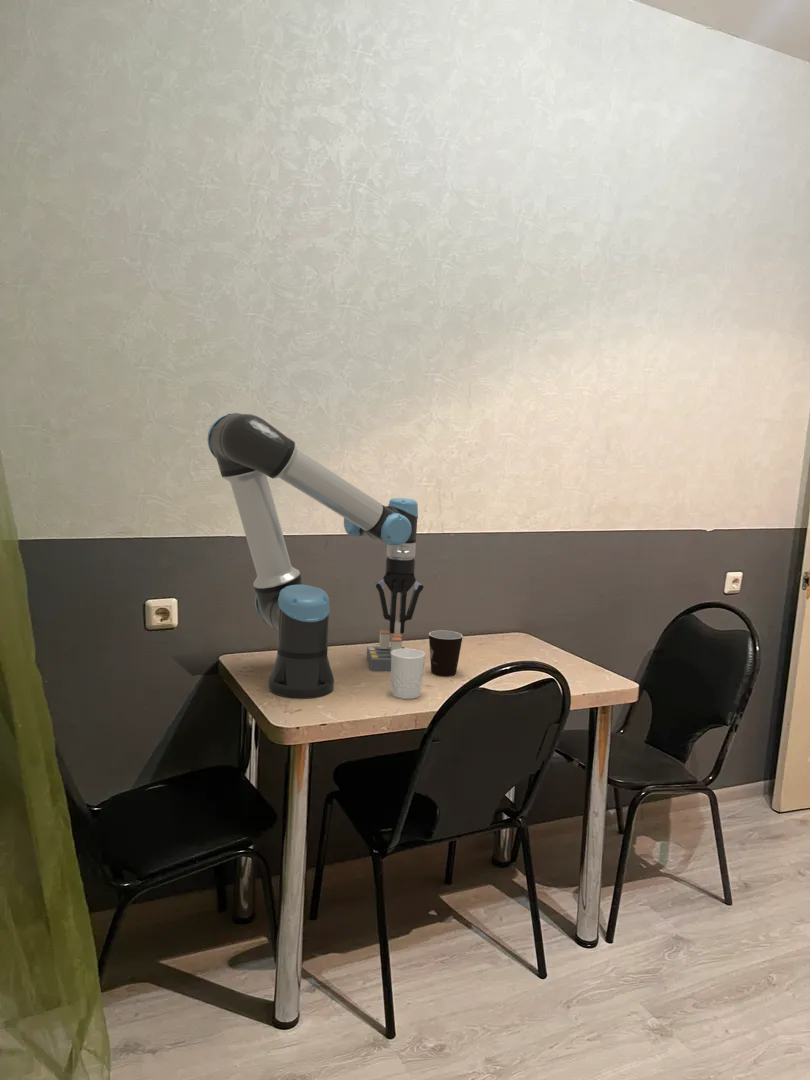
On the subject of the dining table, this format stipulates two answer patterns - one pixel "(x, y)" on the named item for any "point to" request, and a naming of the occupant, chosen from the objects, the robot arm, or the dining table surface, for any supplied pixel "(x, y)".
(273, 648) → the dining table surface
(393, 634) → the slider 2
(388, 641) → the slider
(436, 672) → the coffee mug
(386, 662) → the grey slotted tray
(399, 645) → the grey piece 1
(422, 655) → the white cup
